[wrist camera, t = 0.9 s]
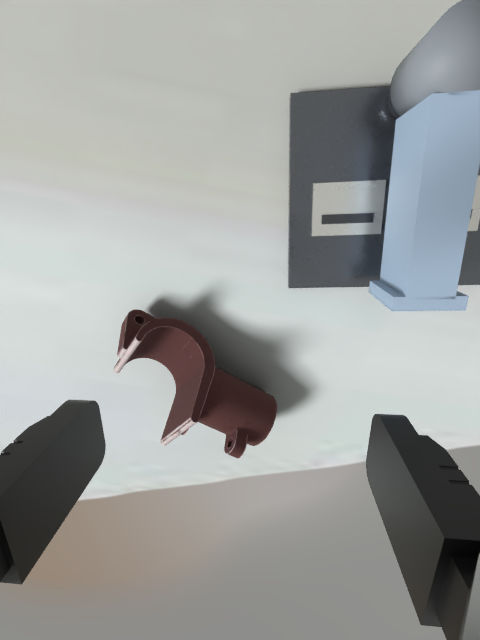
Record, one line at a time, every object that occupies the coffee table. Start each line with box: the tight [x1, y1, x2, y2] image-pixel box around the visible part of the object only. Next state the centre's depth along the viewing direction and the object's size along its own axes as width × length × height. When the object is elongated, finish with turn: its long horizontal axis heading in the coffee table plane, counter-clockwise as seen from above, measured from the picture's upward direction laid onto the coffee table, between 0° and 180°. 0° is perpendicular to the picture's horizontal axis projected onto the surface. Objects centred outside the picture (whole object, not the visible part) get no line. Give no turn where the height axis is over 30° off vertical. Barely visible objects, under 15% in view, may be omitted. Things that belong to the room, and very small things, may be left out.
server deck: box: [288, 86, 480, 288], centre depth 27 cm, size 16×18×4 cm
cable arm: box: [369, 0, 480, 311], centre depth 22 cm, size 17×5×6 cm, turn 2°
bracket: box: [114, 310, 277, 458], centre depth 31 cm, size 6×17×10 cm, turn 56°
